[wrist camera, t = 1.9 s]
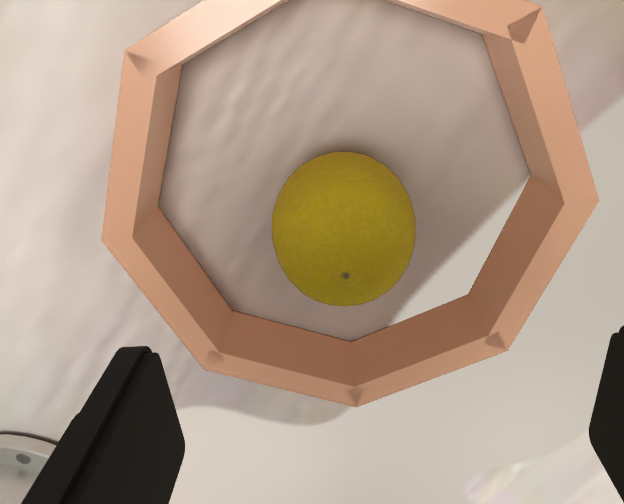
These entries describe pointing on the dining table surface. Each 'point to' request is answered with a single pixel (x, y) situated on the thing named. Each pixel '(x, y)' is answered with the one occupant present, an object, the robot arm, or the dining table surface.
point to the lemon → (343, 229)
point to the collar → (399, 337)
